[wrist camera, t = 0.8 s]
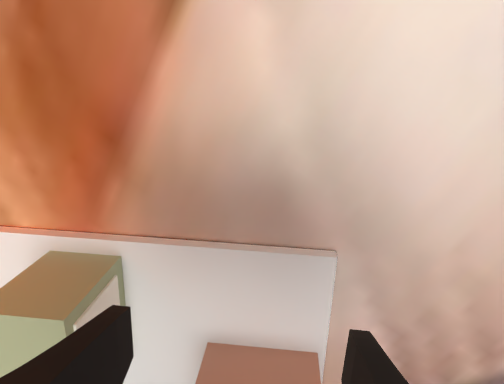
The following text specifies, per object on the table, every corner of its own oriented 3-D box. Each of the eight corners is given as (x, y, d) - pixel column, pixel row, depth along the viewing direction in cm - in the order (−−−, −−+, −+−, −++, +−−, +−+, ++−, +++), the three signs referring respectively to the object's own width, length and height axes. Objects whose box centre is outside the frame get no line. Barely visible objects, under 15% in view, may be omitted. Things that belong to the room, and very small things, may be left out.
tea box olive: (123, 256, 22) (66, 321, 16) (131, 350, 24) (84, 435, 19) (50, 250, 22) (-31, 311, 17) (64, 343, 25) (-2, 425, 19)
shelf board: (315, 419, 26) (318, 452, 23) (19, 386, 27) (-5, 415, 25) (335, 250, 22) (341, 272, 19) (-16, 224, 23) (-49, 241, 21)
